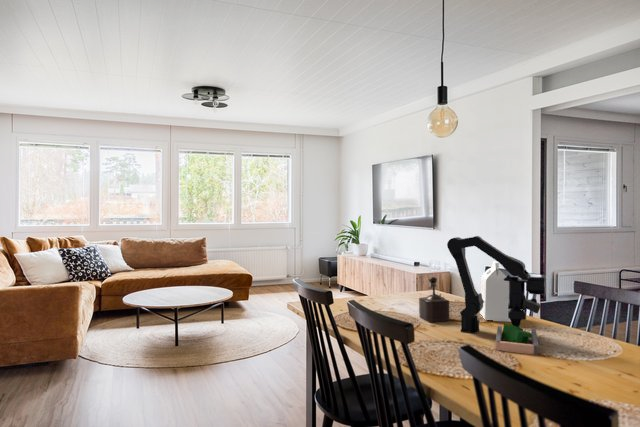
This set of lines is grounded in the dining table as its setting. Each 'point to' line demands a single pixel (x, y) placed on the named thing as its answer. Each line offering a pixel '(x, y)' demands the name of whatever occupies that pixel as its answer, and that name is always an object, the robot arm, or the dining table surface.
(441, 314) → the dark brown stamp
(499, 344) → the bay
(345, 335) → the dining table surface
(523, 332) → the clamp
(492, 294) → the milk
